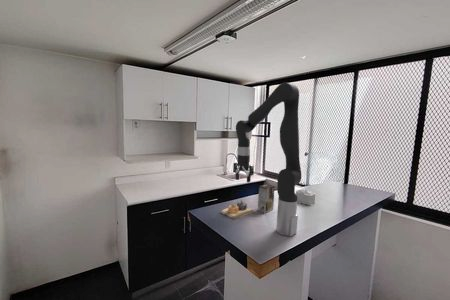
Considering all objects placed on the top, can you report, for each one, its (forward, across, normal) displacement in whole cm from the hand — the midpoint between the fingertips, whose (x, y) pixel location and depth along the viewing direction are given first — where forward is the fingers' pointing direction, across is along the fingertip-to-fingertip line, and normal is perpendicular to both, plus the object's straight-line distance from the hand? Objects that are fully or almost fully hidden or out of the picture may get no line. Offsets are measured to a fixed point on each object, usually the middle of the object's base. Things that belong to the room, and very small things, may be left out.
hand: (242, 180), depth 129 cm
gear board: (+20, +4, 0) cm, 21 cm away
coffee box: (+21, -6, -17) cm, 27 cm away
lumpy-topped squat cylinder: (+21, -15, -53) cm, 59 cm away
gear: (+19, +4, +4) cm, 20 cm away
